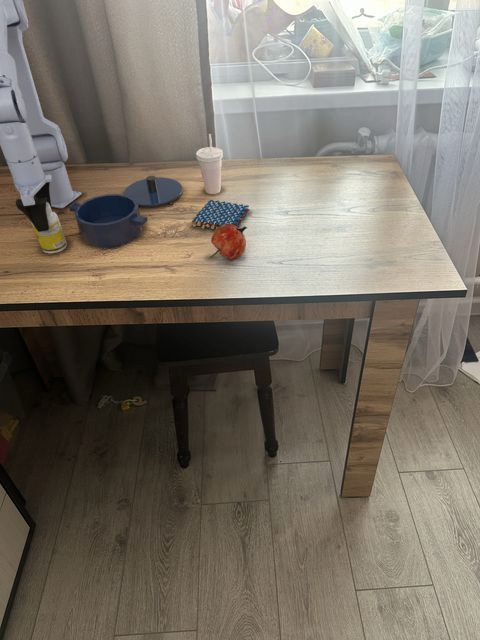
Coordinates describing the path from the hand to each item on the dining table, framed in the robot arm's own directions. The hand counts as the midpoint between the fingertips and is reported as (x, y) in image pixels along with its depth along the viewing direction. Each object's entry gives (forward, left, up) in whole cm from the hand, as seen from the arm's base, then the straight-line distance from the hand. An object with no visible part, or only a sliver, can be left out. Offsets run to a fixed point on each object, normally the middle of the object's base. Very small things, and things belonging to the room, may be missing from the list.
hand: (45, 220), depth 105 cm
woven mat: (+29, +23, -7) cm, 38 cm away
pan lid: (+8, +28, -6) cm, 30 cm away
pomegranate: (+37, +10, -7) cm, 39 cm away
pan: (+8, +10, -6) cm, 14 cm away
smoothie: (+21, +35, -7) cm, 41 cm away
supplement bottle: (0, 0, -7) cm, 7 cm away
